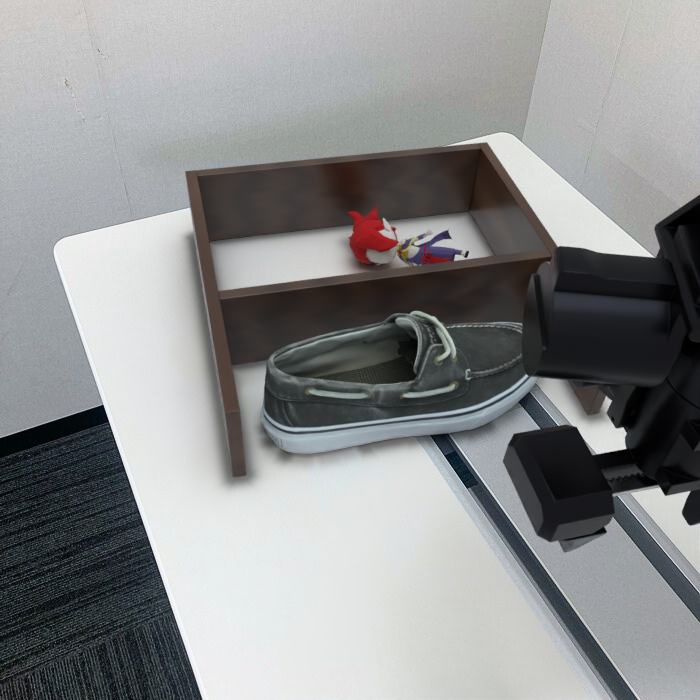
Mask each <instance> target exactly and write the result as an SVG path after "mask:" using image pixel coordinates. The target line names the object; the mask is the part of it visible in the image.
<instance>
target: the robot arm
mask: <svg viewBox="0 0 700 700" xmlns="http://www.w3.org/2000/svg"><path fill="white" fill-rule="evenodd" d="M654 234H655V237H656V239H657V243H658V247H659V249H658V252H657V253H656V256H655V257H653V256H642V255H629V254H618V253H608V252H598V251H596V250H591V249H589V248H585V247H578V246H576V247H575V246H566V245H558V247H557V248H555V249H554V252H553V255H552V259H551V262H543V263H542V264H541V265H540V266H539V269H538V271H537V273H536V274H532V275H531V279H530V282H529V286H528V290H527V295H526V300H525V306H524V314H523V322H522V324H523V325H522V359H523V365H524V370H525V372H526V374H527V375H528V376H529V377H539V379H540V378H541V379H551V380H562V381H568V380H570V381H571V382H572V383H573V384H574V385H575V386H576V387H578V388H579V389H585V388H591V387H597V388H598V389H599V390H600V391H601V392H602V393H604V394H605V395H606V398H608V400H610V401H611V402H610V404H609V406H608V408H607V411H606V415H607V416H608V418H609V420H610V421H611V423H612V425H613V426H614V428H615V429H622V428H623V430H624V431H625V433H626V434H625V436H624V444H625V448H623V449H618V450H613V451H607V452H601V453H597V454H593V453H592V452H591V450H590V447H589V446H588V444H587V443H586V441H585V439H584V437H583V436H582V433H581V432H580V430H579V428H578V427H577V426H575V425H571V424H561V425H555V426H549V427H544V428H538V429H533V430H527V431H522V432H516V433H515V432H514V433H513V434H512V436H511V438H510V440H509V442H508V444H507V446H506V449H505V453H504V455H503V459H502V463H503V465H504V467H505V470H506V471H507V474H508V476H509V477H510V478H509V479H510V481H511V483H512V485H513V488H514V490H515V491H516V494H517V496H518V498H519V501H520V502H521V505H522V506H523V509H524V510H525V513H526V516H527V519H528V520H529V522H530V524H531V526H532V528H533V531H534V533H535V535H536V536H537V537H539V538H541V539H542V540H544V541H546V542H548V543H555V542H558V543H559V546H560V547H561V550H562V552H563V553H564V554H565V553H570V552H572V551H574V550H575V551H576V550H577V549H579V548H581V547H583V546H584V545H587V544H588V543H590V542H592V541H595V540H597V539H599V538H601V537H603V536H604V535H606V534H607V533H608V531H607V529H606V526H607V525H609V524H610V523H611V521H612V520H613V518H614V516H615V515H616V510H615V503H614V497H618V496H624V495H628V494H633V493H639V492H644V491H648V490H654V489H659V488H660V490H661V492H662V493H663V495H664V496H665V497H668V496H673V495H677V494H683V493H688V492H689V494H688V495H687V497H686V500H685V502H684V505H683V507H682V510H681V515H682V517H683V519H684V520H685V522H686V524H687V525H688V526H690V527H692V526H696V525H699V524H700V194H698V195H696V196H695V197H694V198H692V199H691V200H689V201H688V202H686V203H685V204H684V205H682V206H681V207H679V208H677V209H676V210H674V211H673V212H671V213H670V214H669V215H667V216H666V217H665V218H663V219H662V220H660V221H659V222H657V223H656V224H655V226H654Z"/></svg>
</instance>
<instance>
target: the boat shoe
mask: <svg viewBox="0 0 700 700" xmlns="http://www.w3.org/2000/svg"><path fill="white" fill-rule="evenodd" d="M522 325H523V323H512V322H494V323H459V324H450V325H445V324H444V323H443V322H439V321H438V320H437V318H436V317H434V316H430V315H428V314H425V313H423V312H421V311H413V312H411V313H410V314H401V313H398V314H394V315H391V316H390V317H388V318H387V319H386V320H385V321H383V322H380V323H376V324H372V325H367V326H362V327H356V328H351V329H345V330H340V331H336V332H331V333H327V334H323V335H319V336H316V337H312V338H309V339H306V340H303V341H299V342H296V343H293V344H290V345H288V346H285V347H283V348H281V349H279V350H277V351H276V352H274V353H273V354H272V355H271V356H270V358H269V359H268V360H267V362H266V365H265V366H266V367H265V376H264V386H263V399H262V405H261V408H260V420H261V423H262V426H263V428H264V430H265V432H266V433H267V435H268V436H269V437H270V439H271V440H272V441H273V442H274V444H275V445H276V446H277V447H278V448H280V449H281V450H283V451H285V452H287V453H293V454H305V455H306V454H307V455H308V454H309V455H310V454H316V453H324V452H331V451H336V450H339V449H345V448H351V447H357V446H361V445H367V444H371V443H376V442H380V441H385V440H394V439H400V438H401V439H402V438H409V437H410V438H411V437H421V436H433V435H444V434H452V433H459V432H463V431H471V430H473V429H477V428H481V427H482V426H484V425H486V424H489V423H490V422H492V421H494V420H496V419H498V418H499V417H501V416H502V415H504V414H505V413H506V412H508V411H510V410H511V409H512V408H513V407H514V406H516V405H517V404H518V403H519V402H520V401H521V400H522V399H523V398H524V397H525V396H526V395H527V394H528V393H529V392H531V390H532V388H534V386H535V385H536V384H537V382H538V381H539V379H540V378H539V377H529V376H528V375H527V374H526V372H525V370H524V365H523V359H522Z"/></svg>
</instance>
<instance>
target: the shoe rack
mask: <svg viewBox="0 0 700 700" xmlns="http://www.w3.org/2000/svg"><path fill="white" fill-rule="evenodd" d="M184 173H185V174H184V175H185V180H186V188H187V196H188V202H189V203H188V204H189V210H190V217H191V218H190V219H191V225H192V233H193V238H194V246H195V251H196V258H197V263H198V270H199V277H200V283H201V289H202V295H203V302H204V307H205V314H206V320H207V325H208V332H209V337H210V344H211V345H210V346H211V351H212V356H213V357H212V358H213V363H214V370H215V375H216V376H215V377H216V381H217V388H218V392H219V393H218V394H219V399H220V405H221V406H220V407H221V413H222V418H223V419H222V420H223V424H224V431H225V437H226V444H227V450H228V456H229V463H230V467H231V474H232V478H237V477H242V476H243V477H244V476H247V465H246V457H245V447H244V436H243V425H242V418H241V417H242V416H241V409H240V404H239V397H238V392H237V386H236V381H235V376H234V370H233V365H240V364H241V365H242V364H247V363H254V362H259V361H268V359H269V358H270V356H271V355H272V354H273V353H274V352H276V351H277V350H279V349H281V348H283V347H285V346H288V345H290V344H293V343H296V342H299V341H303V340H306V339H309V338H312V337H316V336H319V335H323V334H327V333H331V332H336V331H340V330H345V329H351V328H356V327H362V326H367V325H372V324H376V323H380V322H383V321H385V320H386V319H387V318H388V317H390V316H391V315H394V314H398V313H401V314H410V313H411V312H413V311H421V312H423V313H425V314H428V315H430V316H434V317H436V318H437V320H438V321H439V322H443V323H444V324H445V325H450V324H459V323H494V322H512V323H519V324H521V323H523V314H524V306H525V300H526V295H527V290H528V286H529V282H530V279H531V275H532V274H536V273H537V271H538V269H539V266H540V265H541V264H542V263H543V262H551V259H552V255H553V252H554V249H555V248H557V247H559V245H557V243H556V241H555V240H554V239H553V237H552V236H551V235H550V233H549V231H548V229H547V228H546V227H545V226H544V224H543V223H542V221H541V220H540V218H539V217H538V215H537V214H536V212H535V211H534V209H533V208H532V205H530V203H529V202H528V201H527V199H526V197H525V196H524V195H523V193H522V191H521V190H520V189H519V187H518V185H517V184H516V183H515V181H514V180H513V178H512V177H511V175H510V174H509V172H508V171H507V169H506V168H505V167H504V165H503V164H502V162H501V161H500V159H499V158H498V156H497V155H496V153H495V151H494V150H493V149H492V147H491V146H490V144H489V143H488V142H487V141H485V142H484V141H483V142H473V143H465V144H456V145H455V144H454V145H453V144H452V145H443V146H433V147H423V148H412V149H403V150H392V151H391V150H390V151H381V152H372V153H371V152H370V153H360V154H350V155H341V156H340V155H339V156H331V157H319V158H318V157H317V158H309V159H299V160H288V161H287V160H286V161H281V162H280V161H278V162H268V163H257V164H247V165H246V164H245V165H235V166H227V167H225V166H224V167H216V168H204V169H193V170H192V169H191V170H185V171H184ZM376 206H378V210H377V213H378V217H379V220H380V221H383V218H384V219H385V220H386V221H395V220H402V219H403V220H404V219H412V218H420V217H429V216H430V217H431V216H437V215H446V214H447V215H448V214H457V213H464V212H469V213H470V214H471V216H472V218H473V220H474V221H475V223H476V225H477V227H478V229H479V230H480V232H481V234H482V235H483V237H484V239H485V241H486V242H487V244H488V245H489V248H490V249H491V251H492V252H493V254H494V255H489V256H481V257H473V258H464V259H458V260H454V261H449V262H442V263H434V264H426V265H421V264H420V265H414V266H403V267H396V268H395V267H394V268H387V269H379V270H373V271H363V272H357V273H349V274H348V273H347V274H342V275H341V274H340V275H332V276H325V277H318V278H316V277H315V278H310V279H301V280H294V281H293V280H292V281H286V282H277V283H270V284H262V285H255V286H247V287H246V286H245V287H238V288H233V289H232V288H231V289H223V290H219V288H218V281H217V277H216V272H215V267H214V260H213V255H212V254H213V253H212V250H211V243H210V242H211V241H218V240H219V241H220V240H229V239H237V238H238V239H239V238H243V237H244V238H246V237H253V236H255V237H256V236H261V235H262V236H265V235H271V234H281V233H290V232H298V231H307V230H315V229H316V230H317V229H324V228H332V227H340V226H341V227H342V226H349V225H351V226H352V225H354V220H353V219H352V217H351V216H350V215H349V214H348V212H352V211H356V212H358V213H359V214H360V215H361V216H362V217H364V216H367V215H368V214H369V213H370V212H371V211H372V210H373V209H374V208H375V207H376ZM567 381H568V383H569V385H570V387H571V388H572V390H573V392H574V393H575V395H576V397H577V399H578V401H579V402H580V404H581V406H582V407H583V409H584V411H585V412H586V414H587V416H589V415H595V414H600V412H601V409H602V407H603V405H604V402H605V400H606V398H607V396H606V395H605V394H604V393H602V392H601V391H600V390H599V389H598V388H597V387H591V388H585V389H579V388H578V387H576V386H575V385H574V384H573V383H572V382H571V381H570V380H567Z"/></svg>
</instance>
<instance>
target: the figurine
mask: <svg viewBox="0 0 700 700" xmlns="http://www.w3.org/2000/svg"><path fill="white" fill-rule="evenodd" d="M377 210H378V206H376V207H375V208H374V209H373V210H372V211H371V212H370V213H369V214H368V215H367V216H364V217H362V216H361V215H360V214H359V213H358V212H356V211H352V212H348V214H349V215H350V216H351V217H352V219H353V220H354V224H353V227H352V234H351V235H350V236H349V237H348V239H349V246H350V249H351V251H352V254H353V256H354V258H355V259H356V260H357V261H358V262H359V263H362V264H367V265H368V264H375V266H380V265H382V264H389V263H392V262H393V260H394V259H395V257H396V255H397V256H398V258H399V260H401V261H402V262H403V263H404V264H406V265H407V266H408V267H410V266H418V265H426V264H434V263H442V262H449V261H455V259H456V255H458V256H462V257H463V258H464V259H468V256H469V253H470V250H462V249H457V248H456V249H455V247H446V246H437V245H435V244H436V243H438V242H441V241H443V240H453V237H452V236H451V235H450V230H449V229H450V228H448V229H447V230H444V231H442V232H439V233H438V234H436V235H435V236H434V237H433V238H431V239H430V240H428V241H425V242H423V243H420V244H417V245H415V243H416V242H419V241H421V240H423V239H424V238H426V237H427V236H431V235H432V234H433V231H432V229H428V230H427V231H426V232H424V233H422V234H419V235H416V236H413V237H411V238H403V239H402V240H400V241H399V240H398V235H397V233H396V231H397V228H396V227H395V226H391V225H390V223H389V222H388V220H385V219H384V218H383V221H380V220H379V217H378V213H377Z"/></svg>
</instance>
